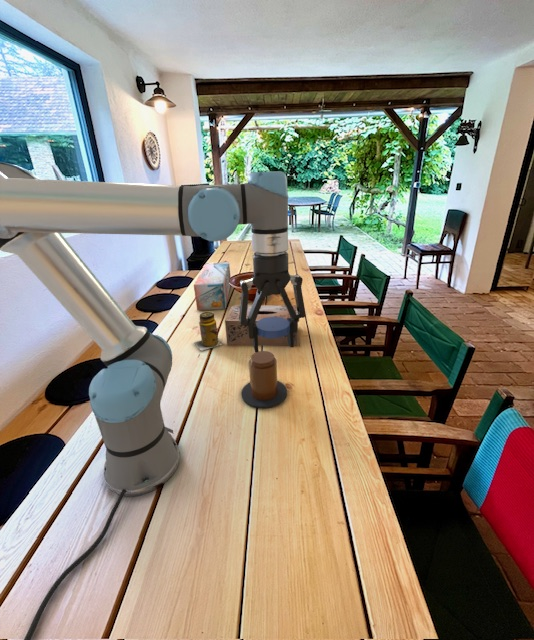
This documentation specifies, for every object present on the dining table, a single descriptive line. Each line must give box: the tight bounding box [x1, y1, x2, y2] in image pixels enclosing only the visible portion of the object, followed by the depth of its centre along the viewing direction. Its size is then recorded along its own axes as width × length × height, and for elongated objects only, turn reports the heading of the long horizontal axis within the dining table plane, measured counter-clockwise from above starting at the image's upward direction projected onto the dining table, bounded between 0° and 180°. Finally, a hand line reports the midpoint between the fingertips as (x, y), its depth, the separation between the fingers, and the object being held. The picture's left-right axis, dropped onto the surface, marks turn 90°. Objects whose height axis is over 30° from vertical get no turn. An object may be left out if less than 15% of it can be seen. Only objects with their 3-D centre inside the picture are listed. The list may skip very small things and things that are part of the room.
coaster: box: [240, 380, 288, 410], centre depth 91 cm, size 13×13×1 cm
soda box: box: [193, 261, 232, 311], centre depth 164 cm, size 41×14×13 cm, turn 3°
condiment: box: [193, 311, 223, 352], centre depth 117 cm, size 7×8×12 cm
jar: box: [248, 350, 278, 400], centre depth 89 cm, size 8×8×12 cm
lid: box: [256, 317, 290, 338], centre depth 75 cm, size 8×8×2 cm
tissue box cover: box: [224, 304, 299, 347], centre depth 121 cm, size 26×14×10 cm, turn 85°
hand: (273, 346), depth 77 cm, fingers closed on lid, 8 cm apart
